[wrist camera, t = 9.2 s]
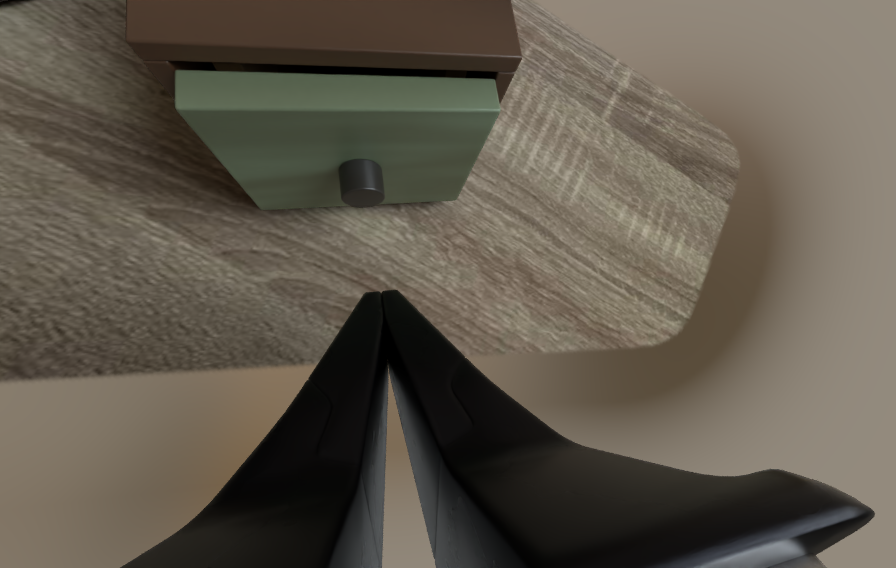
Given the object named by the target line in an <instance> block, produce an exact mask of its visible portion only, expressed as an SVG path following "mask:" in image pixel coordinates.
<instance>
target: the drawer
mask: <svg viewBox="0 0 896 568" xmlns="http://www.w3.org/2000/svg"><path fill="white" fill-rule="evenodd" d="M212 63H213V65H214V67H215V68H216V70H217V71H202V70H175V109H176V110H177V112H178V113H179V114H180V115H181V116H182V118H183V119H184V120H185V121H186V122H187V123H188V125H189V126H190V127H191V128H192V129H193V130H194V132H195V133H196V134H197V135H198V136H199V138H200V139H201V140H202V141H203V142H204V143H205V145H206V146H207V147H208V148H209V149H210V150H211V152H212V153H213V154H214V155H215V156H216V158H217V159H218V160H219V161H220V162H221V163H222V165H223V166H224V167H225V168H226V169H227V170H228V172H229V173H230V174H231V175H232V176H233V178H234V179H235V180H236V181H237V182H238V183H239V185H240V186H241V187H242V188H243V189H244V191H245V192H246V193H247V194H248V195H249V196H250V198H251V199H252V200H253V201H254V202H255V203H256V205H257V206H258V207H259V208H260V209H261V210H276V209H296V208H315V207H335V206H352V207H372V206H375V205H378V204H394V203H414V202H434V201H453V200H457V198H458V196H459V194H460V192H461V190H462V188H463V186H464V184H465V182H466V180H467V178H468V176H469V174H470V172H471V170H472V168H473V166H474V164H475V162H476V160H477V158H478V156H479V154H480V152H481V150H482V148H483V146H484V143H485V141H486V139H487V137H488V135H489V133H490V131H491V129H492V127H493V125H494V123H495V121H496V119H497V117H498V115H499V113H500V104H499V99H498V93H497V88H496V82H495V80H494V79H483V78H465V77H466V74H467V71H460V70H430V69H400V68H370V67H340V66H310V65H280V64H250V63H220V62H212Z"/></svg>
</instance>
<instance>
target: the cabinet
mask: <svg viewBox="0 0 896 568" xmlns="http://www.w3.org/2000/svg"><path fill="white" fill-rule="evenodd" d="M125 39H126V42H127V43H128V44H129V45H130V47H131V48H132V49H133V50H134V52H135V53H136V54H137V55H138V56H139V58H140V59H142V60H143V62H144V64H145V65H146V66H147V67H148V69H149V70H150V71H151V72H152V73H153V75H154V76H155V77H156V78H157V80H158V81H159V82H160V83H161V84H162V86H163V87H164V88H165V89H166V90H167V92H168V93H169V94H170V95H171V97H172V98H173V99H174V100H175V70H202V71H217V70H216V68H215V67H214V65H213V63H212V62H220V63H250V64H280V65H310V66H340V67H370V68H400V69H430V70H460V71H467V74H466V77H465V78H483V79H494V80H495V82H496V88H497V93H498V99H499V104H500V103H501V101H502V99H503V97H504V95H505V93H506V91H507V89H508V87H509V84H510V82H511V80H512V78H513V76H514V73H515V71H516V70H517V68H518V66H519V64H520V62H521V59H522V53H521V48H520V43H519V38H518V33H517V29H516V24H515V19H514V14H513V9H512V4H511V0H126V34H125Z"/></svg>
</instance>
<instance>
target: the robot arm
mask: <svg viewBox="0 0 896 568" xmlns="http://www.w3.org/2000/svg"><path fill="white" fill-rule="evenodd" d="M381 295H382V296H381ZM387 359H388V360H387ZM388 368H389V374H390V379H391V383H392V387H393V392H394V396H395V399H396V404H397V408H398V412H399V416H400V420H401V424H402V429H403V433H404V436H405V441H406V445H407V449H408V453H409V457H410V462H411V466H412V470H413V474H414V478H415V482H416V486H417V490H418V494H419V498H420V503H421V507H422V511H423V515H424V519H425V523H426V527H427V532H428V535H429V540H430V544H431V548H432V552H433V556H434V559H435V565H436V568H826V567H825V565H824V564H823V563H822V562H821V561H820V560H819V559H818V558H817V557H816V555H817V554H818V553H820V552H822V551H823V550H825V549H827V548H828V547H830V546H832V545H833V544H835V543H837V542H838V541H840V540H842V539H844V538H845V537H847V536H848V535H850V534H852V533H854V532H855V531H857V530H858V529H860V528H861V527H863V526H864V525H865V524H867V523H868V522H869V521H870V520H871V519H872V518H873V517H874V515H875V513H874V511H873V510H872V509H871V508H869V507H868V506H866V505H864V504H862V503H861V502H860V501H858V500H857V499H855V498H854V497H852V496H850V495H848V494H846V493H844V492H842V491H840V490H838V489H836V488H834V487H832V486H829V485H827V484H824V483H822V482H819V481H817V480H813V479H809V478H806V477H803V476H800V475H797V474H794V473H791V472H787V471H784V470H779V469H769V470H763V471H759V472H755V473H752V474H748V475H742V476H735V477H734V476H713V475H704V474H699V473H693V472H689V471H684V470H680V469H676V468H672V467H668V466H663V465H659V464H655V463H651V462H647V461H643V460H638V459H634V458H630V457H626V456H622V455H618V454H614V453H609V452H605V451H601V450H597V449H593V448H589V447H585V446H582V445H579V444H577V443H574V442H572V441H571V440H569V439H567V438H565V437H563V436H562V435H560V434H558V433H557V432H556V431H554V430H553V429H551V428H550V427H549V426H547V425H546V424H545V423H544V422H542V421H541V420H540V419H538V418H537V417H536V416H535V415H533V414H532V413H531V412H529V411H528V410H527V409H526V408H524V407H523V406H522V405H520V404H519V403H518V402H516V401H515V400H514V399H512V398H511V397H510V396H509V395H507V394H506V393H505V392H504V391H503V390H501V389H500V388H499V387H498V386H496V385H495V384H494V383H493V382H491V381H490V380H489V379H488V378H487V377H486V376H485V375H484V374H483V373H481V372H480V371H479V370H478V369H477V368H476V367H475V366H474V365H473V364H472V363H471V362H470V361H469V360H468V359H467V358H465V356H464V355H463V354H462V353H461V352H460V351H459V350H458V349H457V348H456V347H455V346H454V345H453V344H452V343H451V342H450V341H449V340H448V339H447V338H446V337H445V336H443V335H442V334H441V333H440V332H439V331H438V330H437V329H436V328H435V327H434V326H433V325H432V324H431V323H430V322H429V321H428V320H427V319H426V318H425V317H424V316H423V315H422V314H421V313H420V312H419V311H418V310H417V309H416V308H415V307H414V306H413V305H412V304H411V303H410V302H409V301H408V300H407V299H406V298H405V297H404V296H403V295H402V294H401V293H400V292H399V291H398V290H387V291H383V292H382V293H381V292H379V291H377V292H366V293H365V294H364V295H363V296H362V298H361V299H360V301H359V302H358V304H357V305H356V307H355V308H354V310H353V312H352V313H351V315H350V316H349V318H348V319H347V321H346V322H345V324H344V325H343V327H342V328H341V330H340V331H339V333H338V334H337V336H336V337H335V339H334V340H333V342H332V343H331V345H330V346H329V348H328V349H327V351H326V352H325V354H324V355H323V357H322V359H321V360H320V362H319V363H318V365H317V366H316V368H315V369H314V371H313V372H312V374H311V375H310V377H309V380H307V381H306V382H305V384H304V386H303V387H302V389H301V390H300V392H299V393H298V395H297V396H296V397H295V399H294V400H293V402H292V403H291V405H290V406H289V407H288V409H287V410H286V412H285V413H284V414H283V416H282V417H281V418H280V419H279V420H278V422H277V423H276V424H275V426H274V427H273V428H272V429H271V431H270V432H269V433H268V434H267V436H266V437H265V438H264V439H263V441H261V443H260V444H259V445H258V446H257V448H256V449H255V450H254V451H253V452H252V454H251V455H250V456H249V457H248V458H247V459H246V461H245V462H244V463H243V464H242V465H241V467H240V468H239V469H238V470H237V471H236V473H235V474H234V475H233V476H232V477H231V479H230V480H229V481H228V482H227V483H226V485H225V486H224V487H223V488H222V489H221V491H220V492H219V493H218V494H217V495H216V496H215V498H214V499H213V500H212V501H211V502H210V503H209V504H208V505H207V506H206V507H205V508H204V509H203V510H202V511H201V512H200V513H199V514H198V515H197V516H196V517H195V518H194V519H193V520H192V521H190V522H189V523H188V524H187V525H186V526H184V527H183V528H182V529H180V530H179V531H178V532H176V533H175V534H174V535H172V536H170V537H169V538H167V539H166V540H164V541H163V542H161V543H159V544H158V545H156V546H155V547H153V548H151V549H150V550H148V551H146V552H145V553H143V554H142V555H140V556H138V557H137V558H135V559H134V560H132V561H130V562H129V563H127V564H126V565H124V566H122V567H121V568H382V545H383V544H382V543H383V516H384V490H385V461H386V459H385V458H386V434H387V405H388Z"/></svg>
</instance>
